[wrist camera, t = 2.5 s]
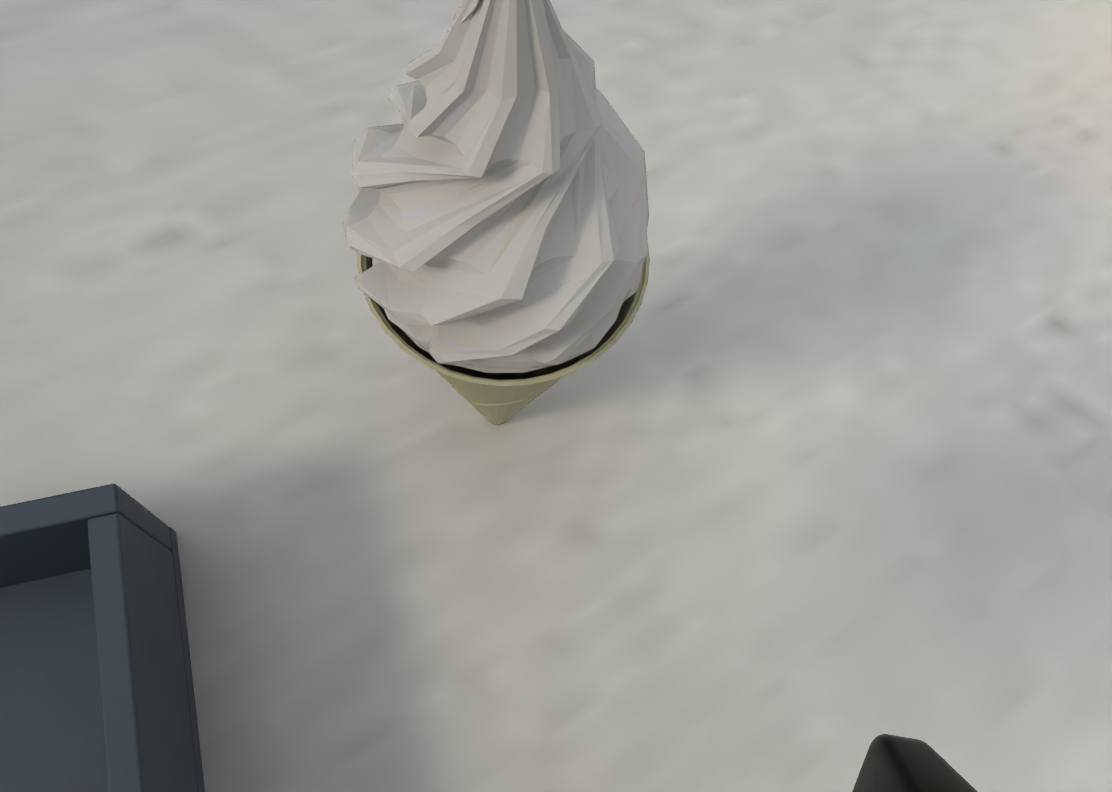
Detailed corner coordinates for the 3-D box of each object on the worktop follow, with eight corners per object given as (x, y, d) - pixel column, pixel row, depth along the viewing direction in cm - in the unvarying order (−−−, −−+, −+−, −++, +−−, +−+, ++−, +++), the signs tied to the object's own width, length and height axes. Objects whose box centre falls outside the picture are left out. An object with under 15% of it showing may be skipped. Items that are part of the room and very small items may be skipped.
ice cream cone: (354, 397, 24) (177, -138, 10) (514, 290, 25) (558, -309, 11) (476, 555, 22) (470, 198, 8) (637, 433, 24) (856, -42, 10)
